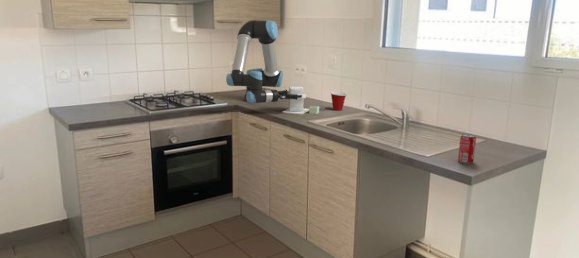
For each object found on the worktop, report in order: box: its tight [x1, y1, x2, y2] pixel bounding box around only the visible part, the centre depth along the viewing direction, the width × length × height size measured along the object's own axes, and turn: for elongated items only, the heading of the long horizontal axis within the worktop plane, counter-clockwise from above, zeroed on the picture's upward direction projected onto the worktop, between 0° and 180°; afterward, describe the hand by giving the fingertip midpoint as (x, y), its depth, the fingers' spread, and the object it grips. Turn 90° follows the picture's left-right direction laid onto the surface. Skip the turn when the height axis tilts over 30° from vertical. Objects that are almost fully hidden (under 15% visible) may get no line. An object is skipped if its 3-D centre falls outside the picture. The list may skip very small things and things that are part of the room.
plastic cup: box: [330, 91, 347, 112], centre depth 291 cm, size 11×11×12 cm
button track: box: [319, 106, 326, 112], centre depth 285 cm, size 14×8×2 cm, turn 160°
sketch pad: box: [282, 107, 309, 115], centre depth 287 cm, size 16×13×1 cm
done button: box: [308, 105, 320, 115], centre depth 281 cm, size 5×5×4 cm
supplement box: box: [288, 85, 305, 111], centre depth 285 cm, size 9×9×15 cm
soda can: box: [457, 133, 477, 165], centre depth 188 cm, size 6×6×12 cm
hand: (301, 94), depth 286 cm, fingers open, 13 cm apart
